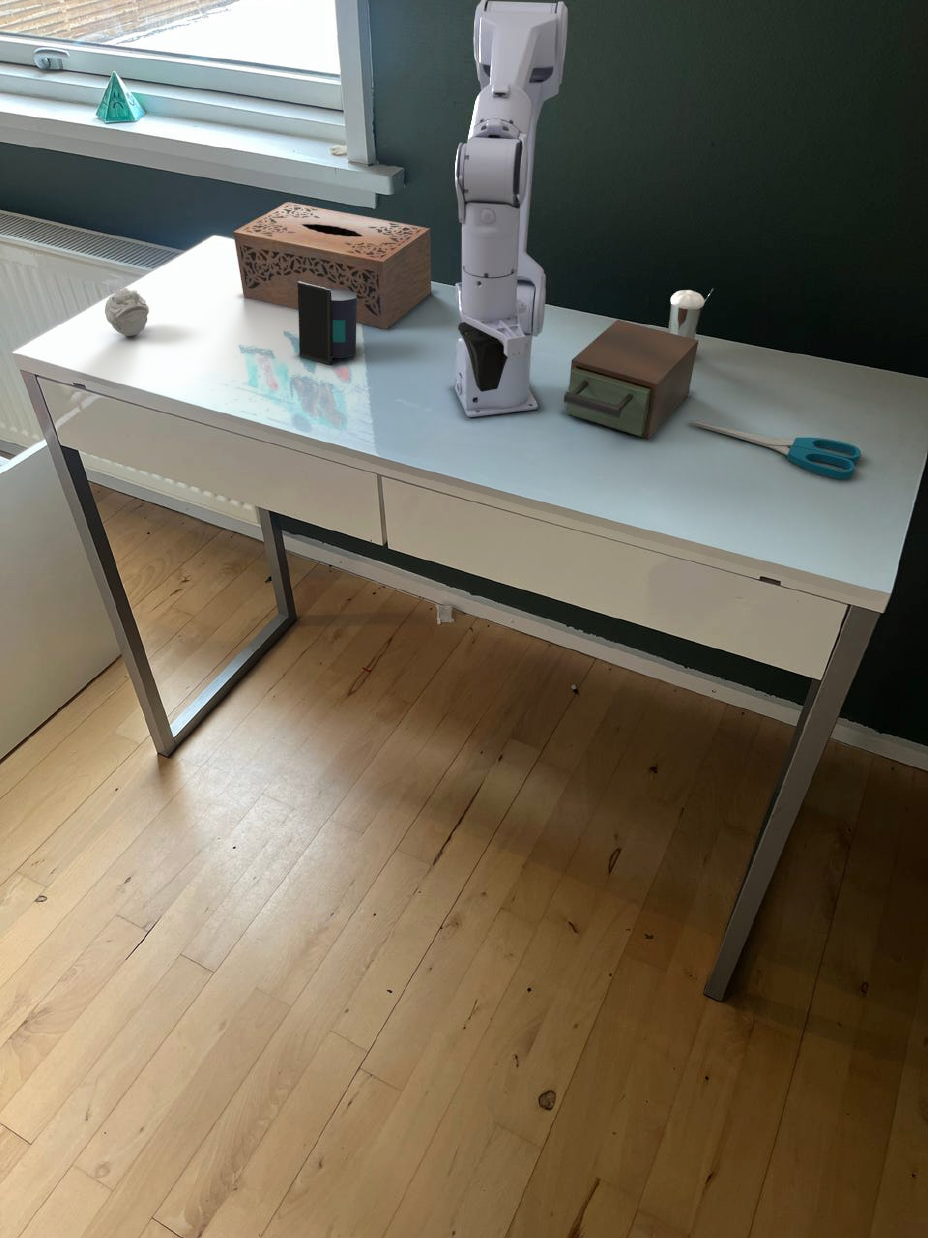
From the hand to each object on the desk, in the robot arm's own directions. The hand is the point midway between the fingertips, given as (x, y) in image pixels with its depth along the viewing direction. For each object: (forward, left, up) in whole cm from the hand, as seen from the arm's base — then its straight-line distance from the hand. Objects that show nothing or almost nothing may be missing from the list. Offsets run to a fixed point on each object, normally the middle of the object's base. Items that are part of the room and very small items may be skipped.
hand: (487, 387), depth 103 cm
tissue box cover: (-11, +52, -11) cm, 54 cm away
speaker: (-14, +33, -11) cm, 37 cm away
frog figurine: (-42, +45, -11) cm, 63 cm away
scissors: (+35, -4, -10) cm, 37 cm away
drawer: (+19, +7, -10) cm, 22 cm away
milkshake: (+34, +21, -11) cm, 41 cm away
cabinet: (+22, +10, -10) cm, 26 cm away
